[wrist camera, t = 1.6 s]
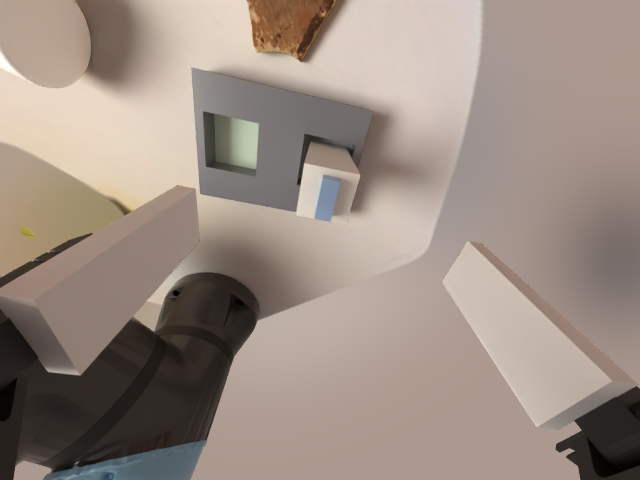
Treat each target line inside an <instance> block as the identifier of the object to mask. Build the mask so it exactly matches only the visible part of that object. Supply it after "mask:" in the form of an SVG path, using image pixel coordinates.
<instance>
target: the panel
mask: <svg viewBox="0 0 640 480" xmlns="http://www.w3.org/2000/svg"><path fill="white" fill-rule="evenodd" d="M191 69H192V83H193V98H194V112H195V126H196V141H197V155H198V169H199V184H200V194H203V195H209V196H214V197H219V198H225V199H230V200H235V201H241V202H246V203H251V204H256V205H262V206H267V207H272V208H278V209H283V210H288V211H294V212H296V211H297V205H298V199H299V192H300V186H301V180H302V174H303V168H304V162H305V159H306V155H307V152H308V148H309V145H310V141H311V139H314V140H318V141H323V142H327V143H332V144H336V145H341V146H345V147H346V148H347V150H348V152H349V154H350V156H351V158H352V160H353V162H354V163H355V165H356V167H357V168H358V164H359V161H360V157H361V154H362V150H363V147H364V143H365V140H366V136H367V133H368V129H369V126H370V122H371V119H372V115H373V111H371V110H367V109H363V108H358V107H354V106H350V105H346V104H342V103H338V102H333V101H329V100H325V99H321V98H317V97H312V96H308V95H304V94H300V93H296V92H292V91H287V90H283V89H279V88H275V87H271V86H267V85H262V84H258V83H254V82H250V81H246V80H242V79H237V78H233V77H229V76H225V75H221V74H216V73H212V72H208V71H204V70H200V69H196V68H191Z"/></svg>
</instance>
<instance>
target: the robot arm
mask: <svg viewBox="0 0 640 480" xmlns="http://www.w3.org/2000/svg"><path fill="white" fill-rule="evenodd" d="M199 241H200V236H199V224H198V212H197V200H196V189H194V188H189V187H184V186H179V185H177V186H176V187H174V188H172V189H170V190H169V191H167V192H165V193H163V194H162V195H160V196H158V197H157V198H155V199H153V200H151V201H150V202H148V203H146V204H144V205H143V206H141V207H139V208H137V209H136V210H134V211H132V212H131V213H129V214H127V215H125V216H124V217H122V218H121V219H118V220H117V221H115V222H113V223H112V224H110V225H108V226H106V227H105V228H103V229H101V230H99V231H98V232H96V233H94V234H92V233H90V234H87V235H84V236H80V237H77V238H74V239H71V240H68V241H67V242H65V243H63V244H61V245H59V246H57V247H56V248H54V249H52V250H50V253H45V254H43V255H41V256H39V257H37V258H35V260H34V261H33V262H31V261H30V262H28V263H26V264H25V265H23V266H21V267H19V268H17V269H15V270H13V271H12V272H9V273H7V274H4V275H2V276H0V480H13V478H14V471H15V466H16V465H17V464H18V463H20V462H22V461H27V462H31V463H35V464H39V465H42V466H46V467H49V468H51V469H52V471H51V472H50V474H47V475H46V476H45V477H44V479H43V480H190V479H191V477H192V475H193V472H194V470H195V467H196V464H197V462H198V459H199V457H200V454H201V452H202V449H203V447H204V446H205V445H206V442H207V437H208V434H209V431H210V428H211V425H212V422H213V419H214V416H215V413H216V410H217V407H218V404H219V401H220V398H221V395H222V392H223V389H224V386H225V383H226V380H227V376H228V373H229V370H230V367H231V364H232V361H233V359H234V356H235V355H236V353H237V352H238V351H239V349H240V348H241V347H242V345H243V344H244V343H245V341H246V340H247V338H248V337H249V336H250V335H251V333H252V332H253V330H254V328H255V326H256V323H257V319H258V316H259V306H258V302H257V300H256V298H255V297H254V295H253V294H252V293H251V292H250V291H249V290H248V289H247V288H246V287H245V286H243V285H242V284H240V283H239V282H237V281H235V280H233V279H231V278H229V277H226V276H223V275H219V274H213V273H196V274H191V275H188V276H185V277H183V278H181V279H180V280H179V281H177V282H176V283H175V285H174V286H173V287H172V288H171V289H170V291H169V292H168V293H167V295H166V297H165V299H164V302H163V305H162V309H161V312H160V315H159V318H158V322H157V325H156V328H155V331H154V332H153V331H152V330H150V329H149V328H148V327H146V326H145V325H143V324H142V323H141V322H140V321H138V320H137V319H135V318H134V317H133V316H134V314H135V313H136V312H137V311H138V310H139V309H140V308H141V307H142V305H143V304H144V303H145V302H146V301H147V300H148V299H149V298H150V296H151V295H152V294H153V293H154V292H155V291H156V290H157V289H158V287H159V286H160V285H161V284H162V283H163V282H164V281H165V279H166V278H167V277H168V276H169V275H170V274H171V273H172V272H173V270H174V269H175V268H176V267H177V266H178V265H179V264H180V263H181V261H182V260H183V259H184V258H185V257H186V256H187V255H188V254H189V252H190V251H191V250H192V249H193V248H194V247H195V246H196V244H197V243H198V242H199ZM442 283H443V285H444V286H445V288H446V289H447V291H448V292H449V294H450V295H451V297H452V298H453V300H454V302H455V303H456V305H457V306H458V308H459V309H460V310H461V312H462V313H463V315H464V317H465V318H466V320H467V321H468V323H469V325H470V326H471V328H472V329H473V330H474V332H475V334H476V335H477V337H478V338H479V340H480V341H481V343H482V344H483V346H484V347H485V349H486V351H487V352H488V354H489V355H490V357H491V358H492V360H493V361H494V363H495V364H496V366H497V367H498V369H499V370H500V372H501V374H502V375H503V376H504V378H505V380H506V381H507V383H508V384H509V386H510V387H511V389H512V390H513V392H514V393H515V395H516V396H517V398H518V400H519V401H520V403H521V404H522V406H523V407H524V409H525V410H526V412H527V413H528V415H529V416H530V418H531V419H532V421H533V423H534V424H535V426H536V427H538V428H547V429H555V430H559V429H561V428H563V427H564V426H566V425H568V424H570V423H572V422H573V421H575V422H576V423H577V425H578V426H579V427H580V428H581V430H582V431H580V432H578V433H577V434H575V435H573V436H571V437H569V438H567V439H565V440H563V441H561V442H559V443H557V444H556V450H557V451H558V452H562V451H564V450H566V449H568V448H571V449H573V450H575V452H573V453H570V454H569V455H567V457H566V458H568V459H569V460H570V461H572V462H573V463H574V464H576V465H577V466H578V468H579V474H580V479H581V480H640V389H639V388H638V387H637V385H638V383H636V382H635V381H634V380H633V379H632V378H631V377H630V376H629V375H628V374H626V373H625V372H624V371H623V370H622V369H621V368H620V367H619V366H618V365H616V364H615V363H614V362H613V361H612V360H611V359H610V358H609V357H607V356H606V355H605V354H604V353H603V352H602V351H601V350H600V349H599V348H597V347H596V346H595V345H594V344H593V343H592V342H591V341H590V340H589V339H588V338H586V337H585V336H584V335H583V334H582V333H581V332H580V331H579V330H578V329H576V328H575V327H574V326H573V325H572V324H571V323H570V322H569V321H568V320H566V319H565V318H564V317H563V316H562V315H561V314H560V313H559V312H557V311H556V310H555V309H554V308H553V307H552V306H551V305H550V304H549V303H548V302H546V301H545V300H544V299H543V298H542V297H541V296H540V295H539V294H537V293H536V292H535V291H534V290H533V289H532V288H531V287H530V286H529V285H528V284H526V283H525V282H524V281H523V280H522V279H521V278H520V277H519V276H518V275H516V274H515V273H514V272H513V271H512V270H511V269H510V268H509V267H508V266H506V265H505V264H504V263H503V262H502V261H501V260H500V259H499V258H498V257H496V256H495V255H494V254H493V253H492V252H491V251H490V250H488V249H487V248H486V247H485V246H484V245H483V244H481V243H476V242H470V241H468V242H467V244H466V245H465V247H464V248H463V250H462V251H461V253H460V255H459V256H458V258H457V259H456V261H455V263H454V264H453V266H452V267H451V269H450V270H449V272H448V274H447V275H446V277H445V278H444V280H443V281H442Z"/></svg>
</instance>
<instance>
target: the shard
mask: <svg viewBox="0 0 640 480" xmlns="http://www.w3.org/2000/svg"><path fill="white" fill-rule="evenodd" d="M336 1H337V0H247V2H248V6H249V14H250V19H251V25H252V38H253V45H254V48H255V50H256V52H283V53H285V54H289V55H291V56H293V57H295V58H296V59H298V60H299V61H300V62H302V61H303V59H304V57H305V54H306V53H307V51H308V48H309V47H310V45H311V43H312V42H313V40H314V38H315V37H316V36H317V34H318V32H319V30H320V28H321V25H322V24H323V22H324V20H325V19H326V18H327V16H328V14H329V12H330V11H331V9H332V8H333V6H335V3H336Z"/></svg>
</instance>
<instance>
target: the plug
mask: <svg viewBox="0 0 640 480" xmlns="http://www.w3.org/2000/svg"><path fill="white" fill-rule="evenodd" d="M360 176H361V175H360V173H359V171H358V169H357V167H356V165H355V163H354V162H353V160H352V158H351V156H350V154H349V152H348V150H347V148H346V147H345V146H341V145H336V144H332V143H327V142H323V141H318V140H314V139H311V141H310V145H309V148H308V152H307V155H306V159H305V162H304V168H303V174H302V180H301V186H300V192H299V199H298V205H297V211H296V216H301V217H306V218H312V219H317V220H323V221H328V222H333V223H339V224H344V225H346V223H347V220H348V216H349V213H350V210H351V206H352V203H353V199H354V196H355V193H356V189H357V186H358V182H359V179H360Z"/></svg>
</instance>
